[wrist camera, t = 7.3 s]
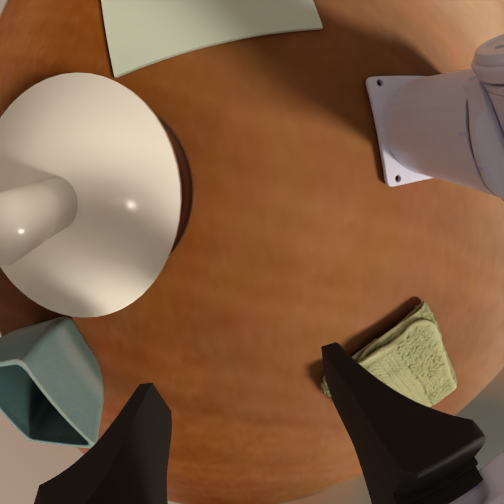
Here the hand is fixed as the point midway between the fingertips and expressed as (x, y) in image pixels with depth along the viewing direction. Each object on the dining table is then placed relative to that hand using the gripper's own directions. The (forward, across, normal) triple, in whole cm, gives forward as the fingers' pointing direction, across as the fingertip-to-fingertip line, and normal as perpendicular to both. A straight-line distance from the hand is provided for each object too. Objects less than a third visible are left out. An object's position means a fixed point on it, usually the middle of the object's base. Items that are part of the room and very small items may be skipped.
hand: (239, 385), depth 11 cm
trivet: (+10, -3, -23) cm, 25 cm away
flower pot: (+11, +17, +2) cm, 20 cm away
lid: (+4, +6, -9) cm, 12 cm away
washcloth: (+11, -14, +17) cm, 25 cm away
